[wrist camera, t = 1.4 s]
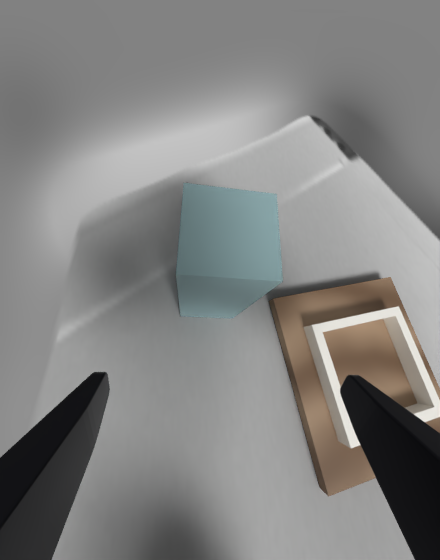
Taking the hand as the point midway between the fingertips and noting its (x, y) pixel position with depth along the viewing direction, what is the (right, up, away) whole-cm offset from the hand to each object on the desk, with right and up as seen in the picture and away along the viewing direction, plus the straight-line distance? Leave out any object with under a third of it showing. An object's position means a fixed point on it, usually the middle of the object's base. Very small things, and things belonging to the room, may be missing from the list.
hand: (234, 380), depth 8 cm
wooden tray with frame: (+13, -5, +14) cm, 20 cm away
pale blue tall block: (-2, +3, +14) cm, 14 cm away
